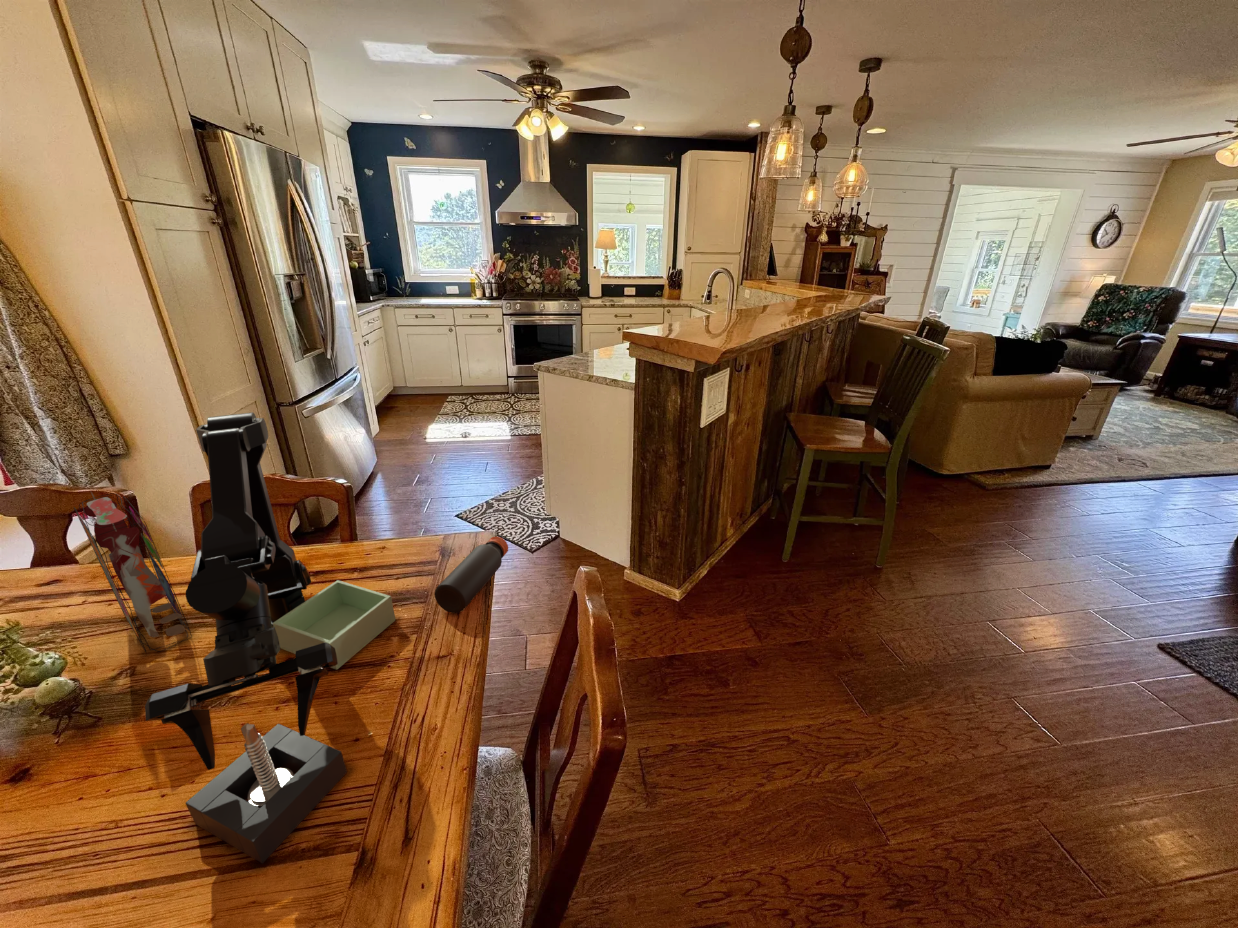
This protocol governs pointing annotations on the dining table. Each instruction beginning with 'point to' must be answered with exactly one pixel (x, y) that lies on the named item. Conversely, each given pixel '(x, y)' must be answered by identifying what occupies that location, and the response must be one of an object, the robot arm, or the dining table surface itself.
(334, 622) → the parts bin
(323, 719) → the dining table surface
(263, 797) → the screw
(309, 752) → the gray rectangular frame
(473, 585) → the bottle
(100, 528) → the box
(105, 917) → the dining table surface
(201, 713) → the robot arm
